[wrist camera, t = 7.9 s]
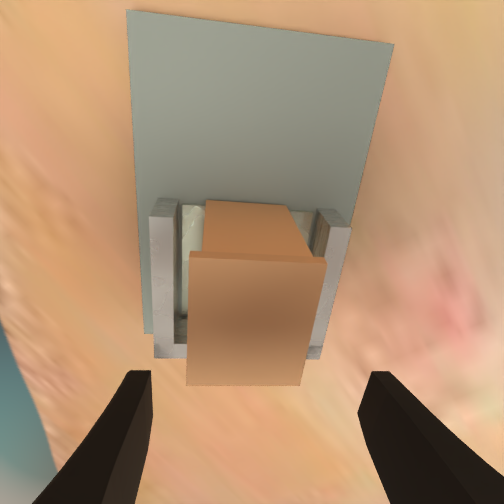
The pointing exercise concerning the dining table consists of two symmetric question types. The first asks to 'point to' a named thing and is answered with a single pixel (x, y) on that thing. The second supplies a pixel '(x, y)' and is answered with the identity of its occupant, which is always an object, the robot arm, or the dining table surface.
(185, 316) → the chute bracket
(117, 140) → the dining table surface
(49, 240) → the dining table surface
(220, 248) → the chute block
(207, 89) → the deck plate
